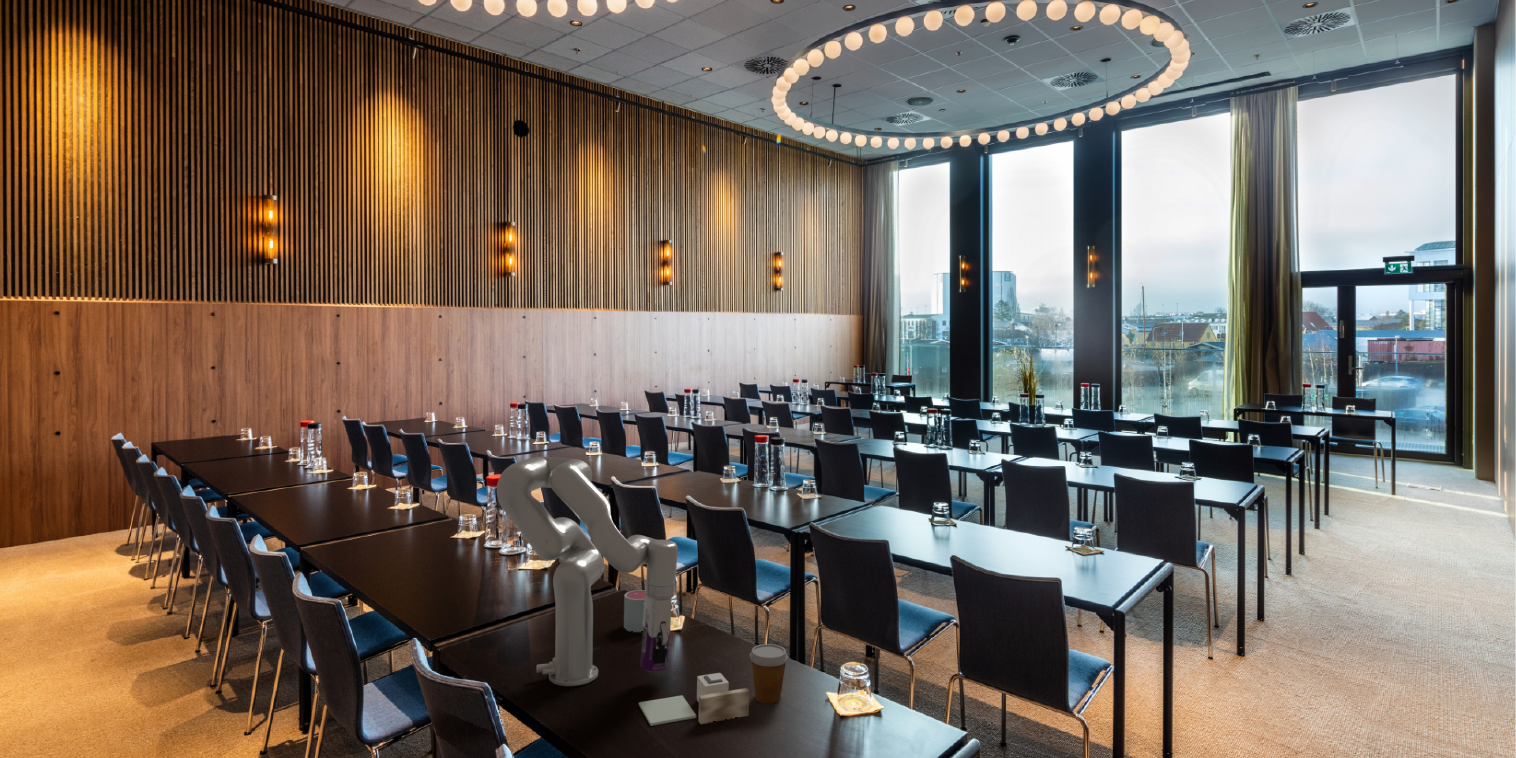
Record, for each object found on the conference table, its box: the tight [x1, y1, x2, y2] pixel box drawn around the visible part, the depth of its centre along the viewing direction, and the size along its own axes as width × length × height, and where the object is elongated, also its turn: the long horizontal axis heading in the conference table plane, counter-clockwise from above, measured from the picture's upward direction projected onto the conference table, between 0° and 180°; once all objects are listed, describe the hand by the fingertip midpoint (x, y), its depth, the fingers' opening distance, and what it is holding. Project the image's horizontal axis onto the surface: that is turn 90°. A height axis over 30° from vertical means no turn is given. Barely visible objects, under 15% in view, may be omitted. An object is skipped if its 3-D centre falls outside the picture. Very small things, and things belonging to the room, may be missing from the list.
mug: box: [623, 589, 646, 633], centre depth 235 cm, size 14×9×10 cm
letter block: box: [696, 672, 730, 703], centre depth 187 cm, size 6×6×6 cm
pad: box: [638, 695, 697, 726], centre depth 183 cm, size 11×11×1 cm
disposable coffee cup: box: [749, 643, 789, 704], centre depth 191 cm, size 10×10×12 cm
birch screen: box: [698, 687, 750, 725], centre depth 180 cm, size 12×2×6 cm, turn 113°
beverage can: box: [639, 623, 672, 674], centre depth 198 cm, size 7×7×12 cm
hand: (654, 656), depth 198 cm, fingers closed on beverage can, 7 cm apart
